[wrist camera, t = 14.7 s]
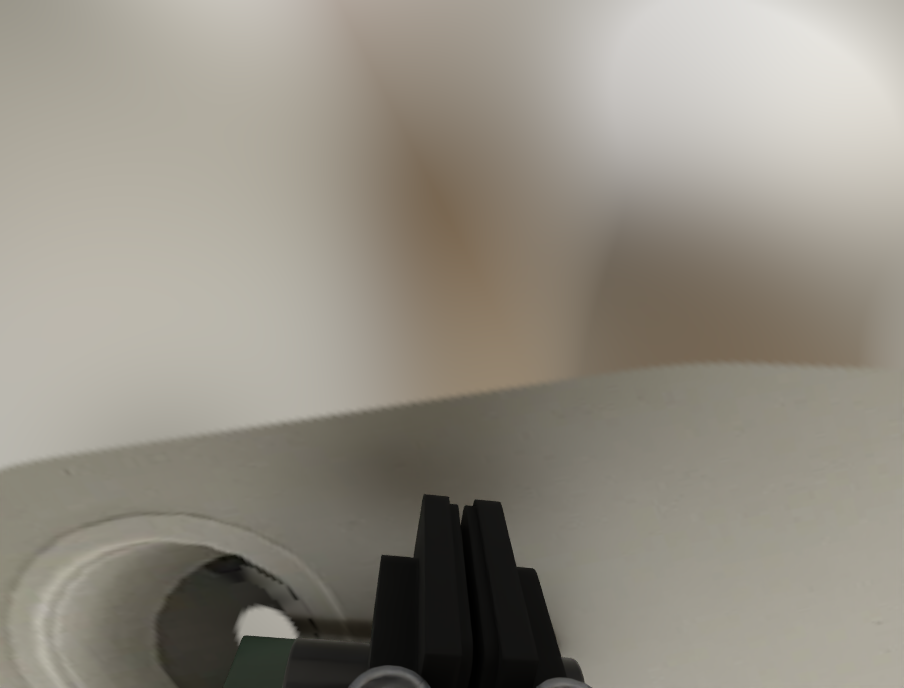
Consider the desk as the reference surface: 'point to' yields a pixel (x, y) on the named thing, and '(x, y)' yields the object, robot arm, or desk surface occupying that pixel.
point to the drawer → (310, 663)
